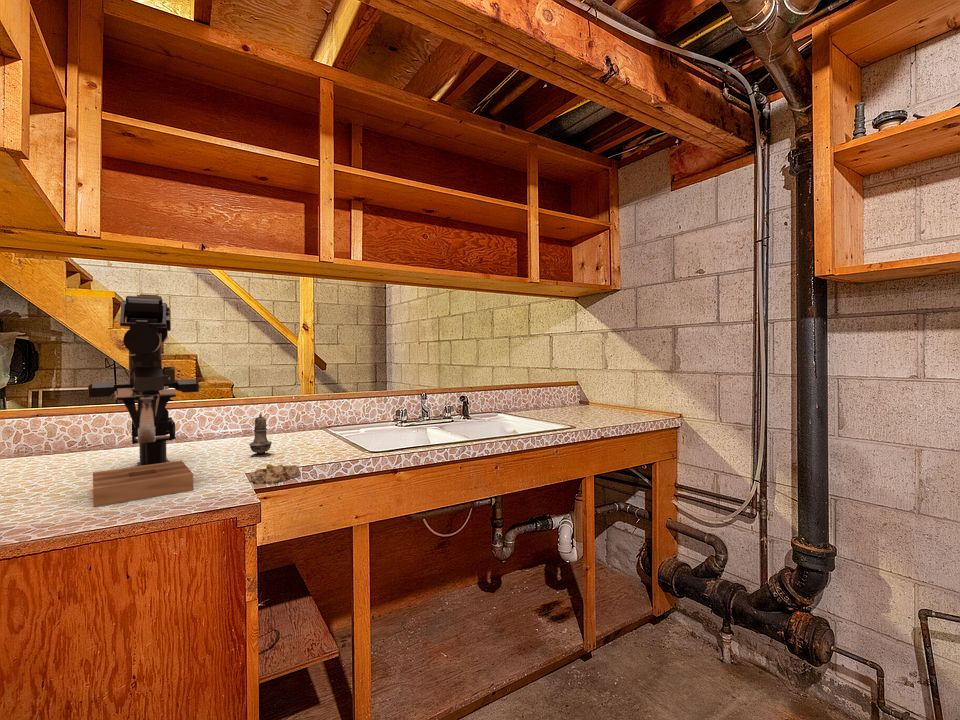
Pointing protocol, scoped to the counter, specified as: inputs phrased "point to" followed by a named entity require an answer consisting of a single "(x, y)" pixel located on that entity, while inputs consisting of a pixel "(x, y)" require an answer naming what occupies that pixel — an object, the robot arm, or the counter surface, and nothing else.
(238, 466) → the counter surface
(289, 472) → the mineral rock
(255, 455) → the salt shaker
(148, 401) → the pin
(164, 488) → the socket block
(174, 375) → the robot arm
